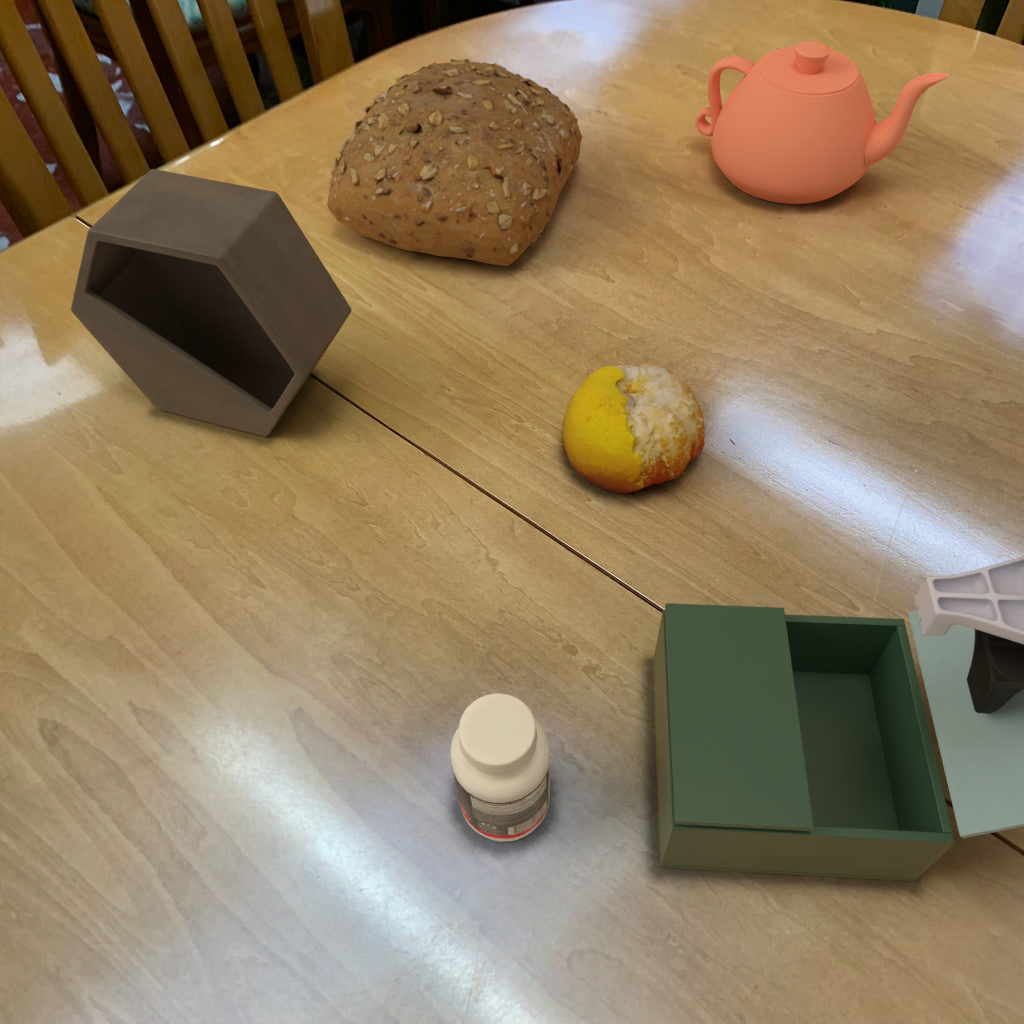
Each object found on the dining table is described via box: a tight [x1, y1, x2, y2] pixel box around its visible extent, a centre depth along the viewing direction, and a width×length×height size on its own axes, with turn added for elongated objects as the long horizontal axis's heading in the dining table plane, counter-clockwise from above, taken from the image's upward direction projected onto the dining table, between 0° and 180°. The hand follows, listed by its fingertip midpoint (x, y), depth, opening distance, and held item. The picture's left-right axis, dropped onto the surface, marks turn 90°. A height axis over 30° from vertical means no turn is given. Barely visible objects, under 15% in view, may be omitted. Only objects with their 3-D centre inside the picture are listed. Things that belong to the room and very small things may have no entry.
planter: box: [70, 168, 352, 438], centre depth 69 cm, size 17×8×21 cm
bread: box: [326, 58, 583, 267], centre depth 88 cm, size 24×21×12 cm
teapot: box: [694, 40, 950, 205], centre depth 89 cm, size 22×16×12 cm
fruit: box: [561, 362, 706, 495], centre depth 69 cm, size 11×10×8 cm
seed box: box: [652, 602, 956, 882], centre depth 53 cm, size 14×13×7 cm
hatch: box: [907, 609, 1024, 839], centre depth 47 cm, size 7×13×1 cm
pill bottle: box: [449, 692, 551, 843], centre depth 51 cm, size 5×5×10 cm
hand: (1017, 697), depth 47 cm, fingers open, 3 cm apart
